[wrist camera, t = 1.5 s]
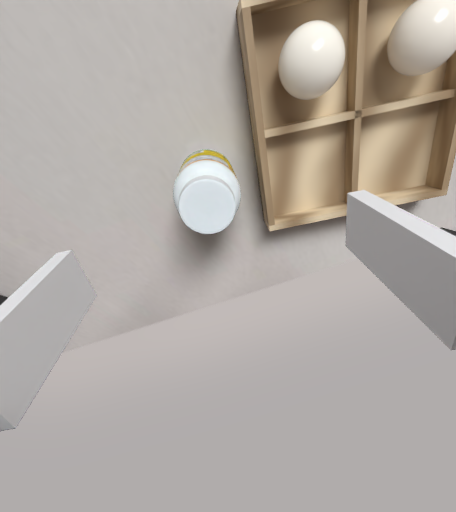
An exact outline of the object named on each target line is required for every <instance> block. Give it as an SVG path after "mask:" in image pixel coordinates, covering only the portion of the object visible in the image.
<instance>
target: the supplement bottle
mask: <svg viewBox="0 0 456 512" xmlns="http://www.w3.org/2000/svg"><path fill="white" fill-rule="evenodd" d="M173 199H174V203H175V206H176V208H177V210H178V212H179V213H180V216H181V218H182V220H183V222H184V223H185V224H186V225H187V226H188V227H189V228H190V229H192V230H193V231H195V232H198V233H201V234H214V233H218V232H220V231H222V230H224V229H225V228H226V227H227V226H228V225H229V224H230V223H231V222H232V220H233V218H234V215H235V213H236V211H237V210H238V207H239V204H240V200H241V190H240V186H239V182H238V180H237V177H236V175H235V173H234V171H233V169H232V166H231V165H230V163H229V161H228V160H227V159H226V157H225V156H224V155H222V154H221V153H219V152H217V151H214V150H210V149H202V150H198V151H196V152H193V153H192V154H191V155H189V156H188V157H187V158H186V159H185V161H184V162H183V164H182V166H181V169H180V171H179V174H178V176H177V178H176V181H175V183H174V188H173Z"/></svg>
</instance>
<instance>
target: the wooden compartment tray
mask: <svg viewBox="0 0 456 512" xmlns="http://www.w3.org/2000/svg"><path fill="white" fill-rule="evenodd" d="M416 1H417V0H239V3H238V6H237V10H236V15H237V23H238V30H239V38H240V45H241V53H242V60H243V68H244V75H245V82H246V90H247V97H248V105H249V112H250V120H251V127H252V135H253V142H254V149H255V157H256V164H257V172H258V179H259V187H260V194H261V202H262V209H263V216H264V221H265V223H266V225H267V227H268V229H269V231H274V230H279V229H284V228H289V227H294V226H298V225H303V224H308V223H313V222H318V221H323V220H327V219H332V218H337V217H342V216H347V193H350V192H355V191H360V190H366V191H368V192H370V193H372V194H374V195H376V196H378V197H379V198H381V199H383V200H385V201H387V202H389V203H391V204H393V205H400V204H405V203H409V202H414V201H419V200H424V199H429V198H433V197H438V196H443V195H447V190H448V186H449V181H450V177H451V172H452V168H453V163H454V159H455V154H456V51H455V52H454V54H453V55H452V56H451V57H450V58H449V59H448V60H447V61H446V62H445V63H443V64H442V65H441V66H439V67H438V68H436V69H435V70H433V71H431V72H428V73H426V74H423V75H419V76H406V75H402V74H400V73H398V72H397V71H395V70H394V69H393V68H392V66H391V65H390V63H389V60H388V56H387V44H388V39H389V36H390V33H391V31H392V29H393V27H394V25H395V23H396V21H397V20H398V18H399V17H400V16H401V15H402V13H403V12H404V11H405V10H406V9H407V8H408V7H409V6H410V5H412V4H413V3H414V2H416ZM315 20H322V21H326V22H328V23H330V24H332V25H334V26H335V27H336V28H337V29H338V31H339V32H340V34H341V35H342V38H343V41H344V44H345V62H344V66H343V69H342V72H341V74H340V76H339V78H338V80H337V81H336V83H335V84H334V85H333V87H332V88H331V89H330V90H328V91H327V92H326V93H325V94H323V95H321V96H320V97H317V98H314V99H310V100H302V99H297V98H295V97H293V96H291V95H290V94H289V93H288V92H287V91H286V90H285V89H284V87H283V85H282V84H281V81H280V78H279V72H278V62H279V56H280V53H281V50H282V47H283V45H284V43H285V41H286V40H287V38H288V37H289V36H290V34H291V33H292V32H293V31H294V30H295V29H296V28H298V27H299V26H301V25H302V24H304V23H306V22H309V21H315Z"/></svg>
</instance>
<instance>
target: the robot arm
mask: <svg viewBox="0 0 456 512" xmlns="http://www.w3.org/2000/svg"><path fill="white" fill-rule="evenodd" d="M346 247H347V248H348V249H349V250H350V251H351V252H352V253H353V254H354V255H355V256H356V257H357V258H358V259H359V260H360V261H361V262H363V263H364V265H366V266H367V268H368V269H370V270H371V271H372V272H373V274H375V275H376V276H377V277H378V278H379V279H380V280H381V281H382V282H383V283H384V284H385V285H386V286H387V287H388V288H389V289H390V290H391V291H392V292H393V293H394V294H395V295H396V296H397V297H398V298H399V299H400V300H401V301H402V302H403V303H404V304H405V305H406V306H407V307H408V308H409V309H410V310H411V311H412V312H413V313H414V314H415V315H416V316H417V317H418V318H419V319H420V320H421V321H422V322H423V323H424V324H425V325H426V326H427V327H428V328H429V329H430V330H431V331H432V332H433V333H434V334H435V335H436V336H437V337H438V338H439V339H440V340H441V341H442V342H443V343H444V344H445V345H446V346H447V347H448V348H449V349H450V350H455V349H456V231H452V230H449V229H445V228H438V227H436V226H434V225H432V224H431V223H429V222H427V221H425V220H423V219H421V218H419V217H417V216H415V215H413V214H411V213H409V212H407V211H405V210H403V209H401V208H399V207H397V206H395V205H393V204H391V203H389V202H387V201H385V200H383V199H381V198H379V197H378V196H376V195H374V194H372V193H370V192H368V191H366V190H360V191H355V192H350V193H347V217H346ZM96 296H97V294H96V292H95V290H94V288H93V287H92V285H91V283H90V281H89V279H88V278H87V276H86V274H85V272H84V270H83V269H82V267H81V265H80V263H79V261H78V260H77V258H76V256H75V254H74V252H73V251H72V250H69V251H64V252H59V253H56V254H55V255H54V256H53V257H52V258H51V259H50V260H49V261H48V262H46V263H45V264H44V265H43V266H42V267H41V268H40V269H39V270H38V271H37V272H36V273H35V274H34V275H32V276H31V277H30V278H29V279H28V280H27V281H26V282H25V283H24V284H23V285H22V286H21V287H20V288H18V289H17V290H16V291H15V292H14V293H13V294H12V295H11V296H10V297H9V298H6V297H4V296H1V295H0V431H4V430H9V429H15V428H16V427H17V426H18V424H19V422H20V421H21V419H22V417H23V416H24V414H25V412H26V411H27V409H28V407H29V406H30V404H31V403H32V401H33V399H34V397H35V396H36V394H37V393H38V391H39V389H40V388H41V386H42V384H43V383H44V381H45V380H46V378H47V376H48V375H49V373H50V371H51V370H52V368H53V366H54V365H55V363H56V362H57V360H58V358H59V357H60V355H61V353H62V352H63V350H64V349H65V347H66V345H67V344H68V342H69V340H70V339H71V337H72V335H73V334H74V332H75V331H76V329H77V327H78V326H79V324H80V322H81V321H82V319H83V317H84V316H85V314H86V312H87V311H88V309H89V308H90V306H91V304H92V303H93V301H94V299H95V298H96Z"/></svg>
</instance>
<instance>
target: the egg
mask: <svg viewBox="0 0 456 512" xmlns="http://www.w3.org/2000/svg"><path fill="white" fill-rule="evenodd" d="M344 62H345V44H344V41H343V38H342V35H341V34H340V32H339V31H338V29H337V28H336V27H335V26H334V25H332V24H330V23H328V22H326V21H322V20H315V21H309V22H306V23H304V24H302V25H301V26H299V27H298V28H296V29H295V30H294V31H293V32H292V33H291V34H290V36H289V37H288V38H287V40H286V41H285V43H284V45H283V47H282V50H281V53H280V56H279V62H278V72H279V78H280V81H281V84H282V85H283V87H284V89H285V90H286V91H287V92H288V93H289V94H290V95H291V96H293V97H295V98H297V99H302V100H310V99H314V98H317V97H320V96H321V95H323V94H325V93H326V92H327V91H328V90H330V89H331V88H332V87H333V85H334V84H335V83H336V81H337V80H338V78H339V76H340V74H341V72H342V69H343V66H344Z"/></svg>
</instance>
